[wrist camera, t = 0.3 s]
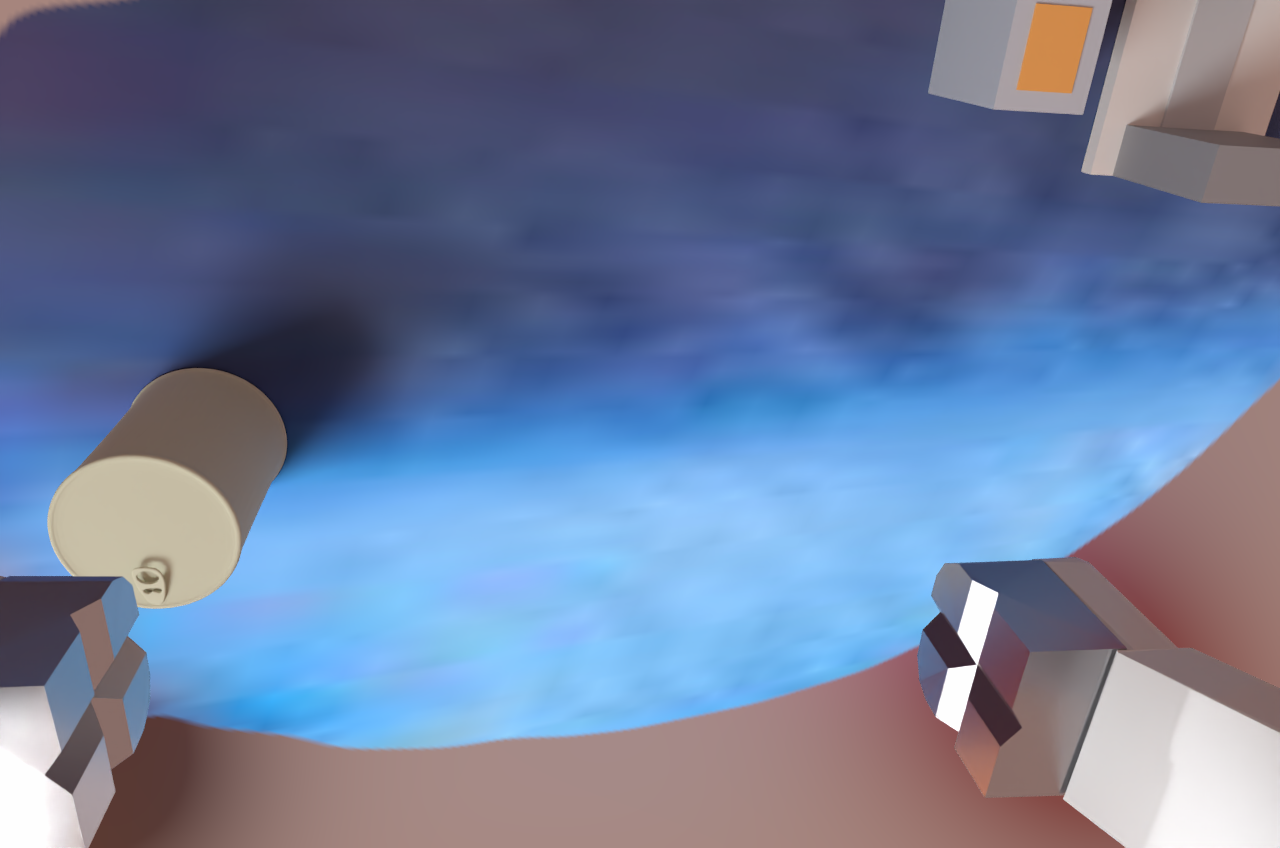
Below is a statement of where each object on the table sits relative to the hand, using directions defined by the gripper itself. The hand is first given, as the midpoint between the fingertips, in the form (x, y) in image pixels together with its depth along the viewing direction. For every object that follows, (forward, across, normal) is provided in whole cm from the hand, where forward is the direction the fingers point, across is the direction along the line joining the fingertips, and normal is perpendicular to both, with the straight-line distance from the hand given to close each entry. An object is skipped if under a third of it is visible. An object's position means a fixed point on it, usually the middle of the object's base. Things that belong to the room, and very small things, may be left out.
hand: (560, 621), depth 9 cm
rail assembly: (+47, -41, -5) cm, 62 cm away
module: (+47, -27, -5) cm, 54 cm away
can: (+47, +18, +21) cm, 54 cm away
